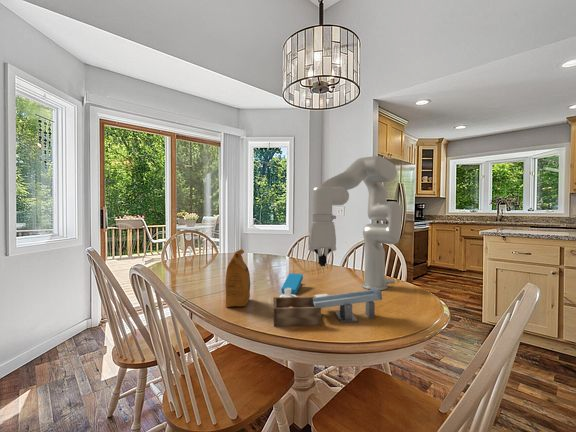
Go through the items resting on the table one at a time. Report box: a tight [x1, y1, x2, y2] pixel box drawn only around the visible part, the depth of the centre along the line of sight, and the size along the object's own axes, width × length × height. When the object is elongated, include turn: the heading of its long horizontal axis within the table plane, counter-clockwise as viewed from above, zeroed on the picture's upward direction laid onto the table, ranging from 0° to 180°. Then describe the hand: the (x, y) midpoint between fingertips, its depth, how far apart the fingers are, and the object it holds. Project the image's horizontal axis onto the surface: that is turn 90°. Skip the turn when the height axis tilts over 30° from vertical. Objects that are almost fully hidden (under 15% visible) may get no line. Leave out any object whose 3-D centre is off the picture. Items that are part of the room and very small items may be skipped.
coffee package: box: [224, 248, 251, 308], centre depth 119 cm, size 10×12×22 cm
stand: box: [334, 301, 376, 323], centre depth 105 cm, size 13×10×6 cm
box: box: [272, 296, 322, 327], centre depth 103 cm, size 16×12×6 cm
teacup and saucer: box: [278, 288, 298, 297], centre depth 128 cm, size 9×8×4 cm
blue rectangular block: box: [280, 272, 304, 295], centre depth 141 cm, size 7×7×18 cm
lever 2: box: [313, 287, 383, 309], centre depth 108 cm, size 24×12×3 cm, turn 93°
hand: (322, 265), depth 112 cm, fingers closed
